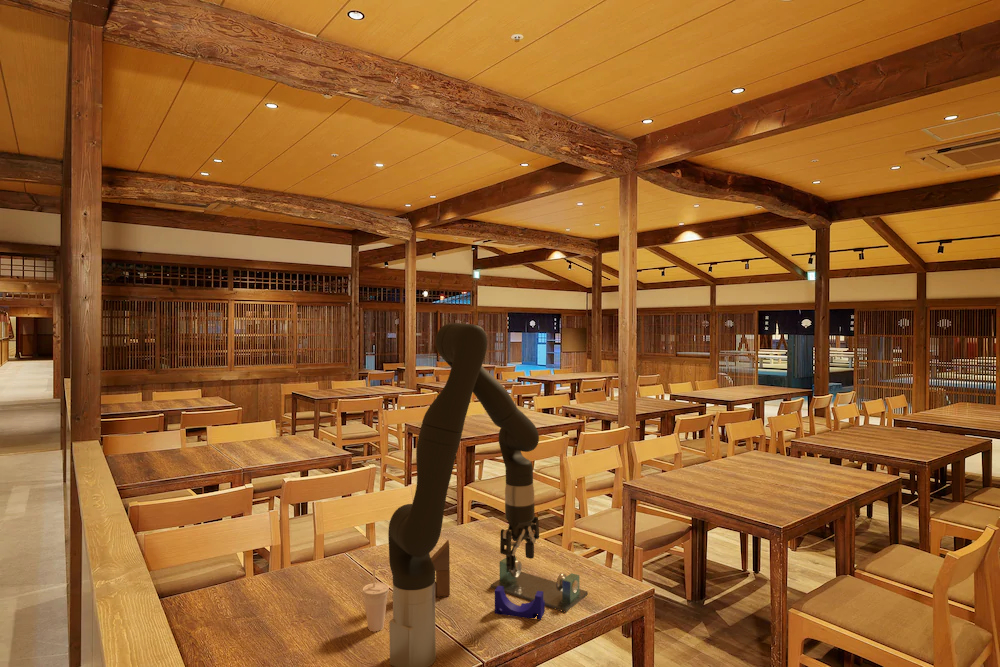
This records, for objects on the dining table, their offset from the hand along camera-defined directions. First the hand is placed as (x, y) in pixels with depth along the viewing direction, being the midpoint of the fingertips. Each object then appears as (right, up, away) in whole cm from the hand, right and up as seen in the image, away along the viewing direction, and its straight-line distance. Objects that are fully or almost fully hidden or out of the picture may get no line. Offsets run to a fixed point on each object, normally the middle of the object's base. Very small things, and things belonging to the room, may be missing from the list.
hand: (520, 563), depth 143 cm
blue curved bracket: (0, -13, -1) cm, 13 cm away
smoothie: (-35, -13, -8) cm, 38 cm away
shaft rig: (+5, -12, +11) cm, 17 cm away
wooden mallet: (-25, -13, +9) cm, 29 cm away
